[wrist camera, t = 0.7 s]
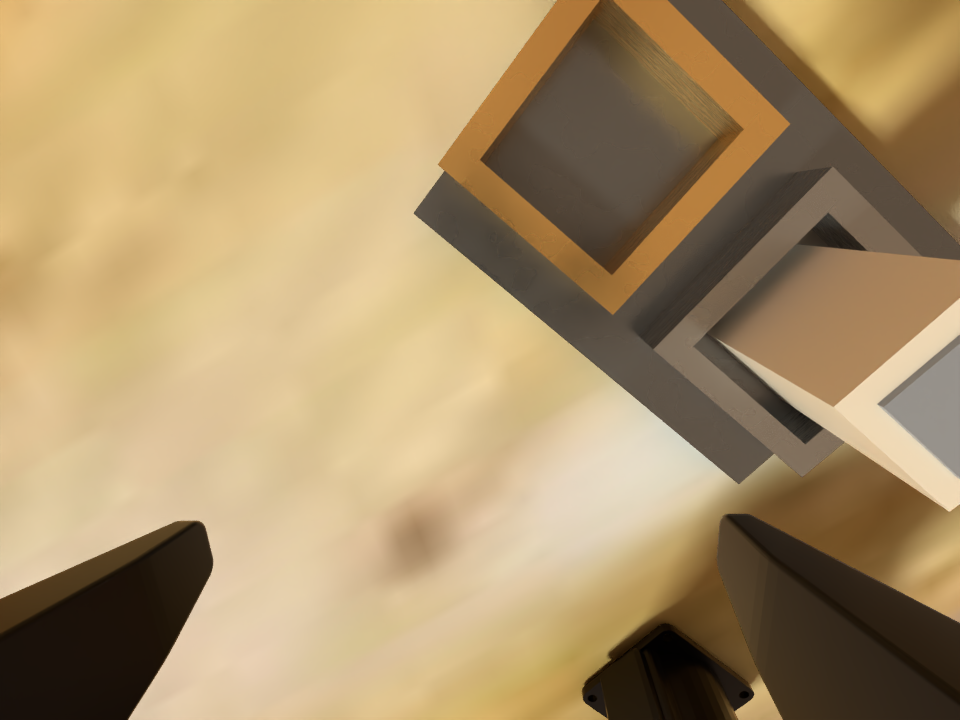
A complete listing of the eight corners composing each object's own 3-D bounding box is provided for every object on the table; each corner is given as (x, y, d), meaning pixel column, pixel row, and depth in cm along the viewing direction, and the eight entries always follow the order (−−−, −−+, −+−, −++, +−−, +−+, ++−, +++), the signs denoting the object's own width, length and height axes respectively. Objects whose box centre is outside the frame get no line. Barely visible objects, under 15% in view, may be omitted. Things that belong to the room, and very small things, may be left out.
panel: (960, 268, 19) (1041, 277, 16) (728, 472, 22) (761, 511, 19) (627, -72, 16) (653, -132, 14) (418, 213, 19) (402, 213, 17)
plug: (868, 317, 19) (1128, 390, 11) (778, 397, 20) (957, 516, 12) (791, 243, 18) (1008, 264, 10) (703, 331, 19) (838, 410, 11)
